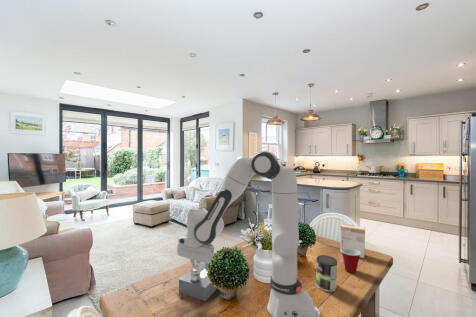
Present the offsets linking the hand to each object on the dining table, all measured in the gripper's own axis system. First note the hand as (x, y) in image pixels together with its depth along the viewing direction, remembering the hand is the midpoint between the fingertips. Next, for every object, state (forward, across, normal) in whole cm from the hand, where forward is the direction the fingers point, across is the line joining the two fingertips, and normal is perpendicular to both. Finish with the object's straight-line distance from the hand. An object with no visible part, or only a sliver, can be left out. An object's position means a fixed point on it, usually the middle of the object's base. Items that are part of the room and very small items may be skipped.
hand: (195, 267), depth 109 cm
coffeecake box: (+12, -72, -85) cm, 112 cm away
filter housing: (+13, 0, -7) cm, 14 cm away
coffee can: (+12, -58, -36) cm, 70 cm away
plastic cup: (+12, -70, -59) cm, 92 cm away
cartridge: (+11, 0, -9) cm, 14 cm away
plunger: (+8, 0, 0) cm, 8 cm away
